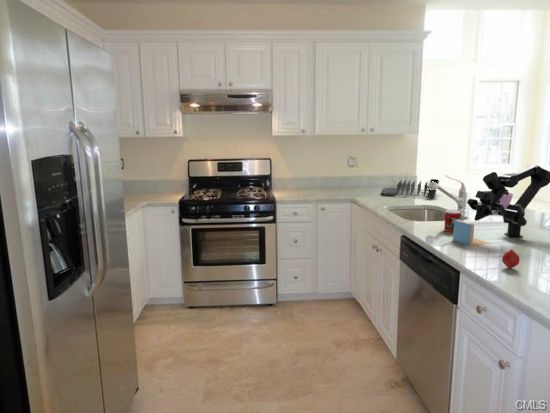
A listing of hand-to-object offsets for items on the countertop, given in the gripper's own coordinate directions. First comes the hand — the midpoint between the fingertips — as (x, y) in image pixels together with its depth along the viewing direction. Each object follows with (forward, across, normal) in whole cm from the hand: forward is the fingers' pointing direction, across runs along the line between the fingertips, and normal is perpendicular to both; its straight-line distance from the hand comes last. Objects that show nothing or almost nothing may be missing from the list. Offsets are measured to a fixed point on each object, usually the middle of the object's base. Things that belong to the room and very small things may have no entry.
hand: (475, 220), depth 187 cm
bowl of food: (-44, -51, +58) cm, 89 cm away
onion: (+20, +33, -4) cm, 39 cm away
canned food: (+4, -19, +12) cm, 23 cm away
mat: (+9, 0, +6) cm, 11 cm away
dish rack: (-38, -126, +53) cm, 142 cm away
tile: (+12, 0, +2) cm, 12 cm away
